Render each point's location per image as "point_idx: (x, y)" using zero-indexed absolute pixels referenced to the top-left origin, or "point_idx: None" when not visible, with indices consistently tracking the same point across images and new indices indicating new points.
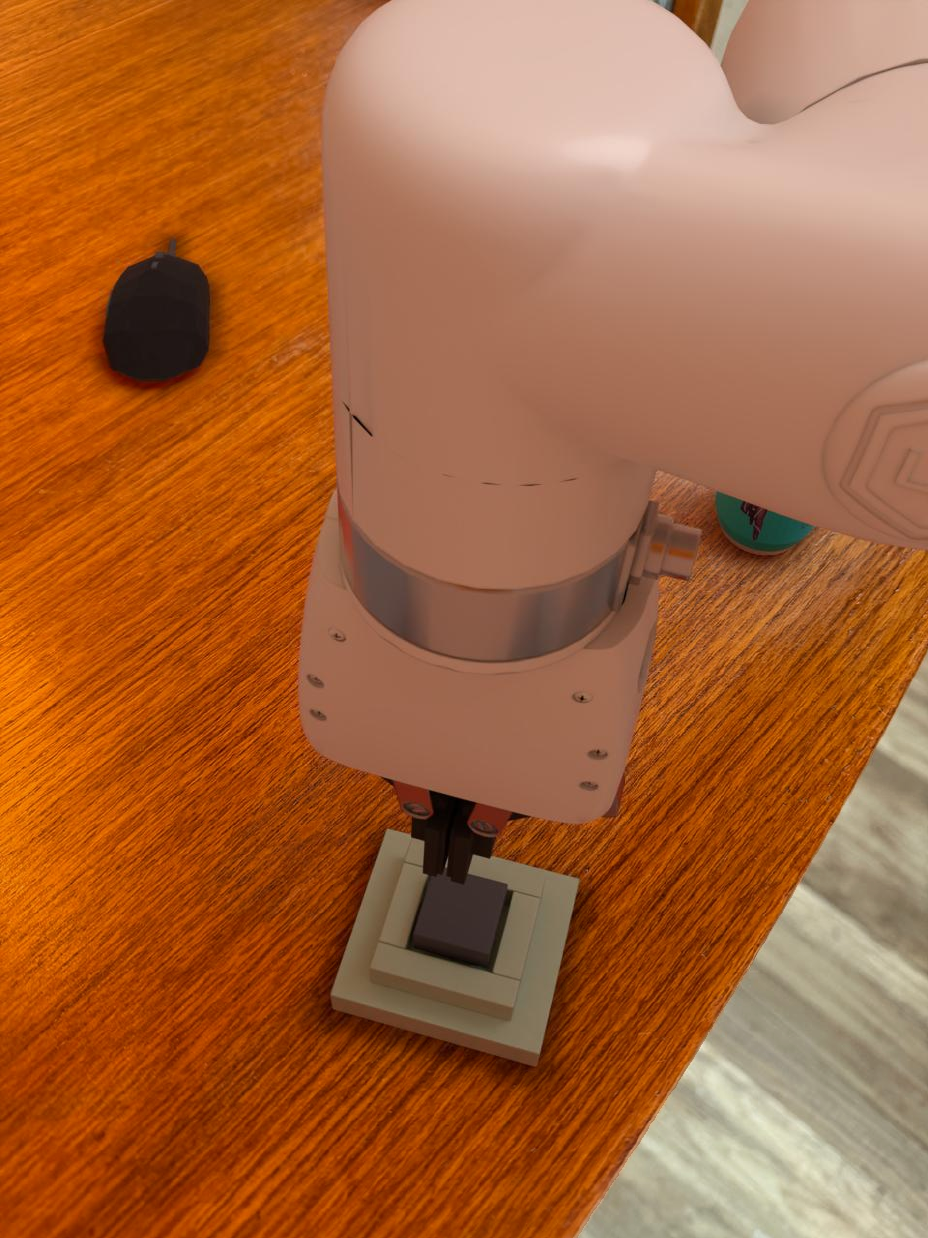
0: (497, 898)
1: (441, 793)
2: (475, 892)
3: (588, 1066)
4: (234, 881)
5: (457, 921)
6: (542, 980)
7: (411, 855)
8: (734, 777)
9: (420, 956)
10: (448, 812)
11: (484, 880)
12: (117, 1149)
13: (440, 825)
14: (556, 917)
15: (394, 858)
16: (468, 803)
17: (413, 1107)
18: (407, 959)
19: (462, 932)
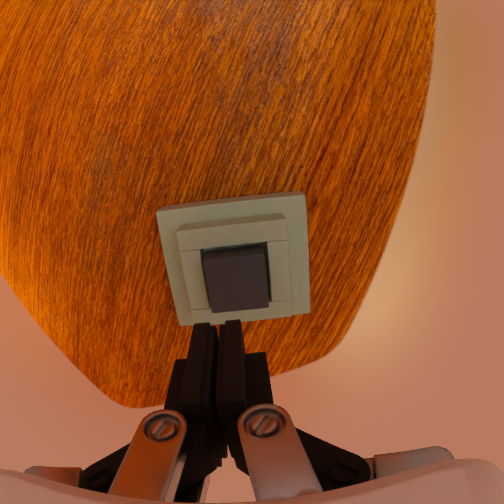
0: (260, 267)
1: (206, 472)
2: (242, 269)
3: (332, 288)
4: (95, 266)
5: (238, 295)
6: (300, 273)
7: (181, 245)
8: (375, 70)
9: None
10: (220, 450)
11: (245, 258)
12: (135, 387)
13: (219, 462)
14: (297, 229)
15: (171, 232)
16: (242, 470)
17: (248, 339)
18: (214, 314)
19: (244, 301)
